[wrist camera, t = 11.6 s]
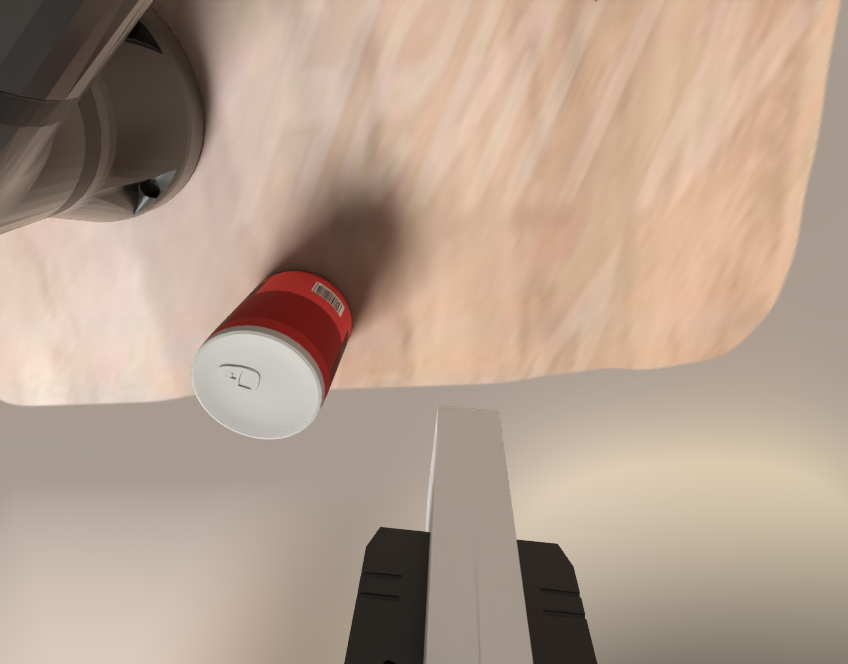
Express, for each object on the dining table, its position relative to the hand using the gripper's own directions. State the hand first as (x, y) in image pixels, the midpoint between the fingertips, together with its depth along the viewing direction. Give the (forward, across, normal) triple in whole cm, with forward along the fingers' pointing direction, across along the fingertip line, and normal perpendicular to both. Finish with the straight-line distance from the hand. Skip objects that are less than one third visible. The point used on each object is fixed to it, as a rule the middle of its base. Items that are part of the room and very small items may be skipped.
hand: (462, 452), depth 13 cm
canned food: (+27, -11, -9) cm, 30 cm away
